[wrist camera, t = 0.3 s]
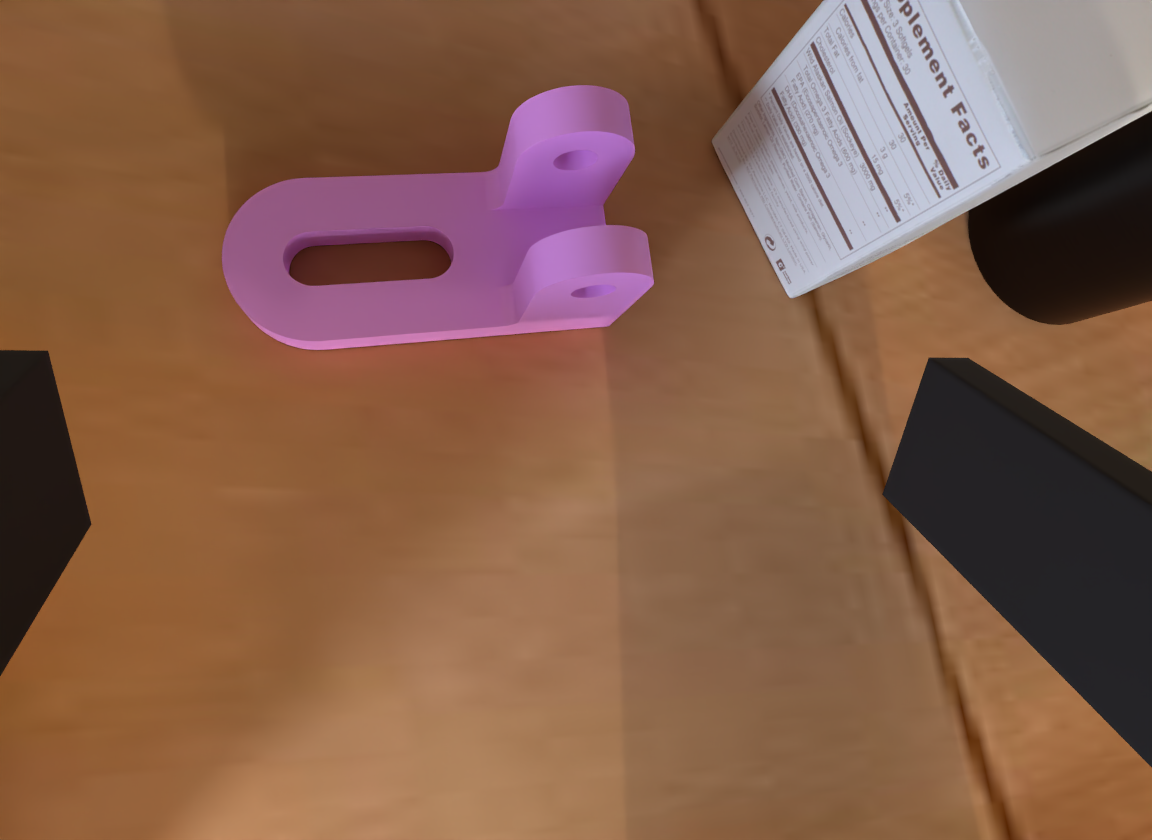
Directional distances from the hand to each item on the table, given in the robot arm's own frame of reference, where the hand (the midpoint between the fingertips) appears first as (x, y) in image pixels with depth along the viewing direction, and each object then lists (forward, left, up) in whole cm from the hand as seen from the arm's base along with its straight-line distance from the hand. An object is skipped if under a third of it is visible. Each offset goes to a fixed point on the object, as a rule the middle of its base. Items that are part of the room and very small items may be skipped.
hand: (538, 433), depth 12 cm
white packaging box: (+11, -15, -16) cm, 24 cm away
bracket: (+8, +1, -16) cm, 17 cm away
